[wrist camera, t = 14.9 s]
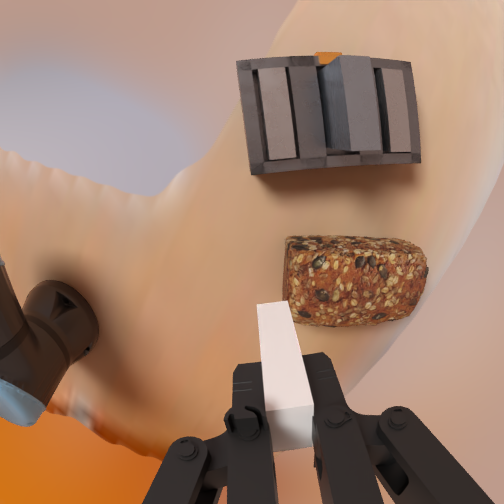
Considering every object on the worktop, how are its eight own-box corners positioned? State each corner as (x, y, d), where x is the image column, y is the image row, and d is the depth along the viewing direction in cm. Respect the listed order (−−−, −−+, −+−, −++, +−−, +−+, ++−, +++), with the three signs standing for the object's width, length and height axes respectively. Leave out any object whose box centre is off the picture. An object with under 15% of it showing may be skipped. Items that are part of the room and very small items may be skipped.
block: (314, 75, 31) (339, 55, 21) (337, 75, 31) (369, 56, 21) (322, 147, 34) (351, 151, 25) (346, 146, 34) (380, 150, 25)
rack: (250, 169, 38) (251, 176, 31) (236, 68, 33) (235, 53, 26) (398, 158, 37) (425, 164, 31) (388, 66, 32) (413, 56, 26)
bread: (403, 234, 42) (438, 259, 32) (389, 296, 45) (417, 330, 36) (282, 229, 41) (294, 256, 31) (277, 298, 45) (285, 339, 35)
